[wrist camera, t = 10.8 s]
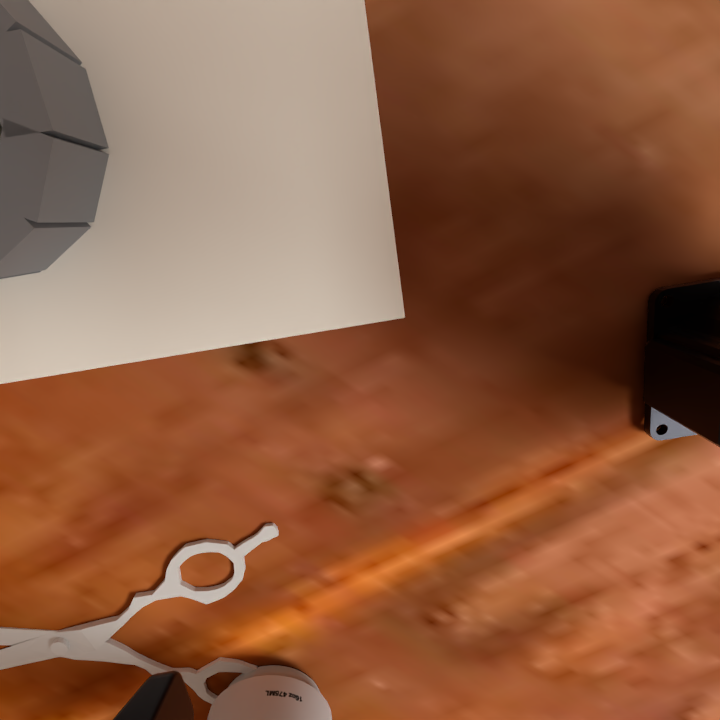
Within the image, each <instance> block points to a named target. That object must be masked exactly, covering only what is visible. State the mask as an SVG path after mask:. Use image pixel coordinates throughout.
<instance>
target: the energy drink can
mask: <svg viewBox="0 0 720 720" xmlns="http://www.w3.org/2000/svg"><path fill="white" fill-rule="evenodd" d="M207 720H332V715H331V709H330V707H329V705H328V703H327V701H326V700H325V698H324V697H323V696H322V694H321V693H320V691H319V689H318V686H317V685H316V684H315V682H314V681H313V680H312V679H311V678H310V677H308V676H307V675H306V674H304V673H302V672H301V671H299V670H296V669H293V668H290V667H286V666H280V665H268V666H260V667H257V670H254V671H251V672H248V673H246V674H243V673H242V674H241V675H239V676H238V677H236V678H235V679H234V680H233V681H232V682H231V683H230V685H229V686H228V688H227V689H225V690H224V691H223V692H222V693H221V694H220V695H219V696H218V697H217V698H216V699H215V701H214V702H213V704H212V706H211V708H210V711H209V714H208V718H207Z"/></svg>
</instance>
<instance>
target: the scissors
mask: <svg viewBox="0 0 720 720" xmlns="http://www.w3.org/2000/svg"><path fill="white" fill-rule="evenodd" d="M278 534H279V531H278V527H277V526H276V525H275V524H274V523H268V524H265V525H264V526H263V527H262V528H261V529H260V530H259V531H258V532H257V533H256V534H254V535H253V536H251V537H249V538H247V539H245V540H244V541H242V542H241V543H239V544H238V545H237V546H234V545H232V544H231V543H230V542H229V541H223V540H214V539H204V540H199V541H195V542H191V543H186V544H185V545H184V546H183V547H182V548H181V549H180V550H179V551H178V552H177V553H176V554H175V555H174V556H173V557H172V559H171V561H170V563H169V565H168V568H167V570H166V576H165V579H164V580H163V581H162V582H161V584H160V585H159V586H158V587H157V588H156V589H155V590H152V591H146V592H140V593H136V594H135V596H134V598H133V600H132V602H131V605H130V606H129V607H128V608H127V609H126V610H125V611H123V612H122V613H121V614H120V615H118V616H114V617H109V618H105V619H101V620H97V621H93V622H89V623H85V624H81V625H78V626H74V627H70V628H66V629H62V630H59V631H57V630H42V629H26V628H10V627H0V645H11V647H8V648H5V649H2V650H0V670H1V669H6V668H11V667H15V666H20V665H24V664H29V663H33V662H38V661H43V660H47V659H52V658H57V657H65V658H69V659H74V660H89V661H106V662H113V663H121V664H130V665H136V666H138V667H141V668H143V669H146V670H147V671H148V672H149V673H150V674H152V675H154V674H156V673H162V672H168V671H174V670H175V671H178V672H179V673H181V675H182V678H183V680H184V682H185V683H186V684H187V685H188V686H190V687H191V688H192V689H193V690H194V691H195V692H196V694H197V695H198V696H199V697H200V698H201V699H203V700H204V701H206V702H208V703H210V704H213V702H214V701H215V699H216V698H217V697H218V695H216V694H214V693H212V692H211V691H210V690H208V688H207V684H206V679H207V678H208V677H210V676H212V675H214V674H216V673H218V672H238V673H243V674H246V673H248V672H251V671H254V670H257V667H258V666H256V665H253V664H250V663H247V662H244V661H241V660H239V659H231V658H223V657H219V658H218V659H216V660H214V661H212V662H210V663H209V664H207V665H205V666H203V667H202V668H200V669H198V670H195V669H193V668H172V667H169V666H167V665H164V664H161V663H159V662H156V661H154V660H152V659H149V658H147V657H145V656H143V655H141V654H139V653H137V652H136V651H134V650H133V649H131V648H130V647H128V646H126V645H124V644H122V643H120V642H118V641H116V640H114V639H111V638H110V637H111V636H112V635H113V634H114V633H115V632H117V631H118V630H119V629H120V628H121V627H122V626H123V625H124V624H125V623H126V622H127V621H128V620H129V619H130V618H131V617H132V616H133V615H134V614H135V613H136V612H138V611H139V610H140V609H141V608H142V607H144V606H146V605H148V604H150V603H152V602H153V601H155V600H160V599H166V598H172V597H179V596H182V597H187V598H190V599H193V600H196V601H199V602H202V603H205V604H209V603H211V602H214V601H217V600H219V599H222V598H224V597H225V596H227V595H228V594H229V593H230V592H231V591H233V590H234V589H235V588H236V587H237V585H238V584H239V583H240V582H241V580H242V579H243V575H244V571H245V567H246V566H245V559H244V556H245V555H246V554H248V553H249V552H250V551H251V550H252V549H254V548H255V547H256V546H258V545H259V544H260V543H262V542H264V541H268V540H270V539H272V538H274V537H276V536H278ZM205 552H220V553H221V554H223V555H225V556H227V557H228V558H229V559H230V560H231V561H232V562H233V563H234V575H233V576H232V577H231V578H230V579H229V580H227V581H226V582H225V583H223V584H220V585H217V586H212V587H194V586H192V585H190V584H188V583H187V582H185V581H183V580H182V579H181V572H180V565H181V564H182V563H183V562H184V561H185V560H186V559H188V558H189V557H190V556H192V555H195V554H199V553H205Z"/></svg>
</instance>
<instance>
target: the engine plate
mask: <svg viewBox="0 0 720 720" xmlns="http://www.w3.org/2000/svg"><path fill="white" fill-rule="evenodd" d="M0 123H1V126H2V132H1V138H0V384H3V383H9V382H15V381H21V380H28V379H34V378H40V377H46V376H52V375H58V374H64V373H70V372H76V371H83V370H89V369H95V368H101V367H107V366H113V365H119V364H125V363H131V362H137V361H144V360H150V359H156V358H162V357H168V356H174V355H180V354H186V353H192V352H199V351H205V350H211V349H217V348H223V347H229V346H235V345H241V344H247V343H254V342H260V341H266V340H272V339H278V338H284V337H290V336H296V335H302V334H309V333H315V332H321V331H327V330H333V329H339V328H345V327H351V326H357V325H364V324H370V323H376V322H382V321H388V320H394V319H400V318H405V313H404V305H403V297H402V290H401V282H400V274H399V266H398V258H397V251H396V243H395V235H394V227H393V219H392V212H391V204H390V196H389V188H388V180H387V173H386V165H385V157H384V149H383V142H382V134H381V126H380V118H379V110H378V103H377V95H376V87H375V79H374V71H373V64H372V56H371V48H370V40H369V32H368V25H367V17H366V9H365V1H364V0H0Z"/></svg>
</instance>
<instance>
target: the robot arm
mask: <svg viewBox="0 0 720 720" xmlns="http://www.w3.org/2000/svg"><path fill="white" fill-rule="evenodd" d="M664 296H666V297H667V300H666V303H665V304H664V305H661V301H662V299H663V297H664ZM643 400H644V402H645V419H644V429H645V432H646V433H647V434H648V435H649V436H650V437H652V438H653V439H656V440H666V439H672V438H678V437H684V436H690V435H697V434H698V435H700V436H701V437H703V438H705V439H706V440H708V441H710V442H712V443H713V444H715V445H717V446H718V447H720V278H715V279H709V280H703V281H697V282H691V283H685V284H678V285H672V286H666V287H661V288H658V289H656V290H654V291H653V292H652V293H651V295H650V296H649V300H648V320H647V344H646V346H645V361H644V396H643ZM661 424H662V425H661ZM659 425H661V428H660V429H659V430H657V431H656V429H657V427H658V426H659ZM113 720H194V712H193V706H192V703H191V700H190V697H189V694H188V692H187V689H186V686H185V683H184V680H183V678H182V675H181V673H179V672H178V671H175V670H174V671H168V672H162V673H156V674H154V675H152V676H151V677H149V678H148V679H147V680H146V681H145V683H144V684H143V685H142V686H141V687H140V688H139V690H138V691H137V692H136V693H135V694H134V695H133V697H132V698H131V699H130V700H129V701H128V702H127V704H126V705H125V706H124V707H123V708H122V710H121V711H120V712H119V713H118V714H117V715H116V717H115V718H114V719H113Z"/></svg>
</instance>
